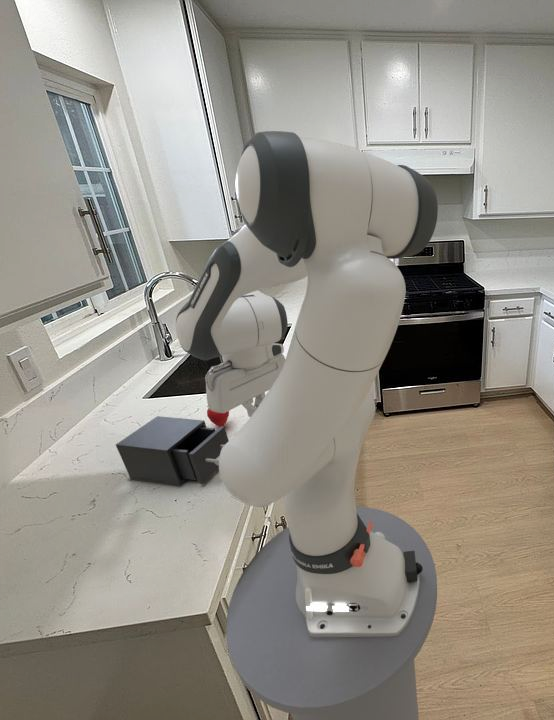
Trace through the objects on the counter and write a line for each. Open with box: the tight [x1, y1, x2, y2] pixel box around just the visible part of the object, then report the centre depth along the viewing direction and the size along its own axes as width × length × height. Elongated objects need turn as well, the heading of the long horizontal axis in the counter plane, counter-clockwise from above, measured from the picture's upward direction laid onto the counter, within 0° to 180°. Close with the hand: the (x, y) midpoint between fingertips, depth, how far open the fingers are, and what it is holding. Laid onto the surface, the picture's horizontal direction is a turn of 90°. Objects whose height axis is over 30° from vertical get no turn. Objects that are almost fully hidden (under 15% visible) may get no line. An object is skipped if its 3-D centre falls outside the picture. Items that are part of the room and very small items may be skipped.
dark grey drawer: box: [170, 426, 230, 485], centre depth 97 cm, size 18×11×9 cm, turn 78°
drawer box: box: [115, 415, 207, 487], centre depth 99 cm, size 15×13×11 cm
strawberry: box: [206, 405, 230, 428], centre depth 115 cm, size 6×8×10 cm
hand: (256, 414), depth 86 cm, fingers closed
